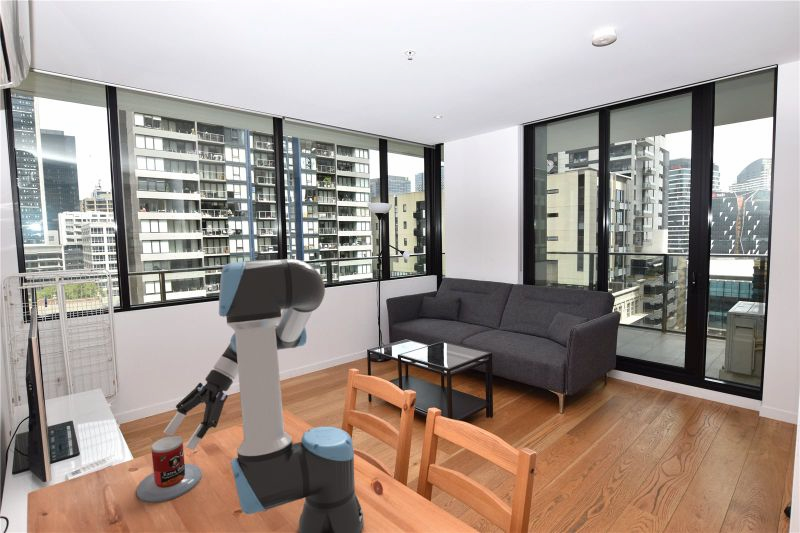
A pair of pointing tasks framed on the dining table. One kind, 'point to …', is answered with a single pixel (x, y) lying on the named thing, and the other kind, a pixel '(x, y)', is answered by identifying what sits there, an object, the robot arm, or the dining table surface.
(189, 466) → the slate plate
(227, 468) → the dining table surface
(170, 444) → the canned food
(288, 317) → the robot arm
